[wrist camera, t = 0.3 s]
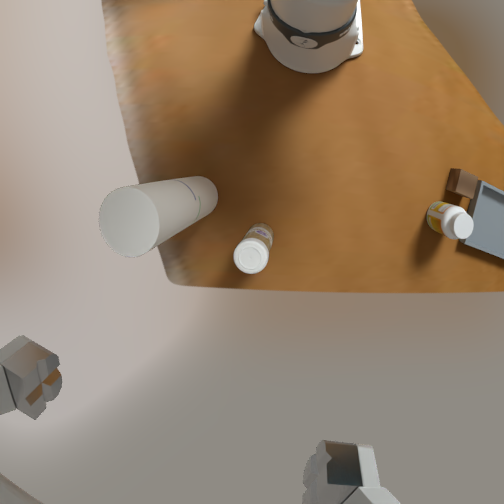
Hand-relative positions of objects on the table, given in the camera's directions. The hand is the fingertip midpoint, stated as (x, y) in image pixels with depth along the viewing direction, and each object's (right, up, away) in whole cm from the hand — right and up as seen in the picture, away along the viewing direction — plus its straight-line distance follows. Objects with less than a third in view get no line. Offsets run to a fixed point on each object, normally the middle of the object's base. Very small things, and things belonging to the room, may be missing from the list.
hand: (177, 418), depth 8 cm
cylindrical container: (-7, +14, +46) cm, 49 cm away
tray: (+49, +10, +40) cm, 64 cm away
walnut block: (+39, +17, +39) cm, 58 cm away
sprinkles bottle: (+4, +7, +47) cm, 47 cm away
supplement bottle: (+35, +11, +42) cm, 56 cm away
